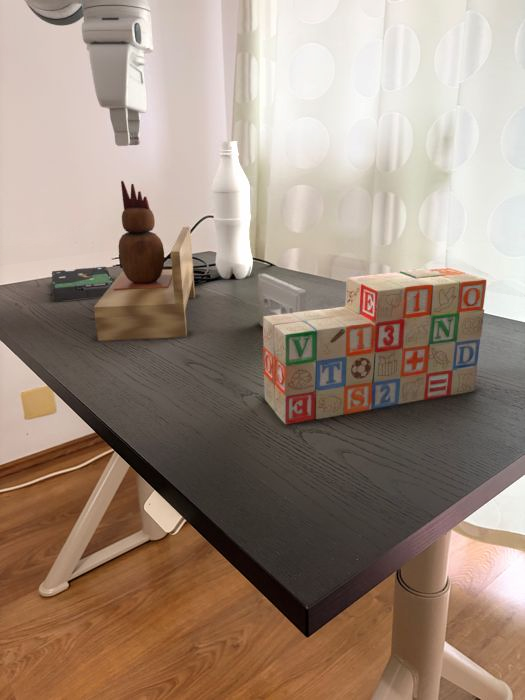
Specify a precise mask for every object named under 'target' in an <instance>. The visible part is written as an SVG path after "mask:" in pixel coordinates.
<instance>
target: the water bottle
mask: <svg viewBox="0 0 525 700" xmlns="http://www.w3.org/2000/svg"><path fill="white" fill-rule="evenodd" d="M219 146H220V150H219V151H220V153H219V154H218V155H219V156H220V162H219V166H218V168H217V171H216V172H215V175H214V177H213V180H212V183H211V195H212V196H211V197H212V211H213V212H212V213H213V218H212V219H213V222H214V226H215V232H216V234H215V235H216V254H215V267H216V270H217V273H218V274H219V276H220V277H221V279H224V280H229V279H230V278H231V277H232V275H234V277H235V279H236V280H241V279H245V278H246V277H249V276H250V275H251V273H252V270H253V255H252V252H251V251H252V250H251V245H250V223H251V218H252V217H251V197H250V193H251V192H250V190H251V186H250V181H249V180H248V177H247V176H246V173H245V171H244V170H243V168H242V166H241V164H240V160H239V155H240V153H239V152H238V151H239V150H238V141H236V140H232V141H230V140H227V141H220V145H219Z"/></svg>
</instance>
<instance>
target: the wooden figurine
mask: <svg viewBox="0 0 525 700" xmlns="http://www.w3.org/2000/svg"><path fill="white" fill-rule="evenodd" d="M120 186H121V187H120V188H121V196H122V203H123V205H122V206H123V211H122V212H121V213H122V214H121V224H122V228H123V229H124V231H125V233H123V234H122V235H121V237H120V238H119V241H118V257H119V263H120V266H121V269H122V271H124V273H125V275H126V277H127V278H128V279H129V280H130V281H132V282H135V283H151V282H154V281H156V280H158V279H159V278H160V276H161V273H162V270H164V265H165V249H164V243H163V242H162V240H161V238H160V237H159V236H158V235H157V234H156V233H154V232H153V230H154V228H155V221H156V220H155V215H154V213H153V211H152V210H151V209H150V204H149V201H148V197H147V196H142V192H141V191H138V192H136V188H135V185H134V183H131V184H130V195H129V192H128V189H127V187H126V184H125V182H124V180H121V181H120Z"/></svg>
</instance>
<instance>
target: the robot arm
mask: <svg viewBox="0 0 525 700" xmlns="http://www.w3.org/2000/svg"><path fill="white" fill-rule="evenodd" d="M23 1H24V2H25V3H26V5H27V7H28V8H29V9H30V10H31V12H32V13H33V14H34V15H35V16H36V17H38V18H39V19H40V20H42V21H44V22H45V23H47V24H50V25H54V26H62V27H63V26H69V25H72V24H75V23H77V22H79V21H80V20H81V19H83V22H82V23H81V37H82V41H83V43H84V44H85V45H86V50H87V51H88V55H89V56H88V57H89V62H90V70H91V74H92V75H91V76H92V80H93V84H94V92H95V95H96V99H97V102H98V104H99V106H100V107H101V108H105V109H108V110H109V118H110V123H111V126H112V129H113V134H114V143H115V145H116V146H118V147H127V146H139V145H140V144H141V123H142V122H141V114H146V113H147V111H148V100H147V90H146V80H145V70H144V66H145V65H146V58H145V55H146V54H150V53H152V52H154V42H153V41H154V40H153V28H152V27H153V26H152V25H153V24H152V12H151V7H150V3H149V1H148V0H23Z"/></svg>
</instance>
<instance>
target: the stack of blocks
mask: <svg viewBox="0 0 525 700" xmlns="http://www.w3.org/2000/svg"><path fill="white" fill-rule="evenodd" d="M345 281H346V282H345V283H346V284H345V302H344V303H345V304H344V306H340V307H331V308H323V309H313V310H306V311H303V312H295V313H287V314H279V315H271V316H264V317H263V326H262V340H263V341H262V343H263V344H262V345H263V346H262V361H263V362H262V363H263V387H264V389H263V390H264V400H265V401H266V403H267V404H268V405H269V406H270V408H271V409H272V410H273V411H274V413H275V414H276V416H277V417H278V418H279V419H280V420H281V421H282V423H283V424H284V425H290V424H298V423H301V422H307V421H312V420H321V419H326V418H332V417H337V416H342V415H349V414H354V413H359V412H364V411H370V410H375V409H380V408H385V407H386V408H387V407H390V406H397V405H401V404H407V403H412V402H417V401H423V400H431V399H437V398H441V397H442V398H443V397H446V396H454V395H459V394H466V393H470V392H475V390H476V381H477V372H478V361H479V352H480V345H481V338H482V334H483V333H482V332H483V327H484V325H483V324H484V317H485V309H484V307H485V306H484V304H485V297H486V289H487V279H486V278H483V277H480V276H477V275H474V274H471V273H467V272H464V271H462V270H458V269H455V268H451V267H442V268H435V269H434V268H433V269H425V268H417V269H408V270H400V271H399V272H398V271H397V272H396V271H395V272H394V271H393V272H385V273H376V274H368V275H367V274H366V275H358V276H348V277H346V279H345Z"/></svg>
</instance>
